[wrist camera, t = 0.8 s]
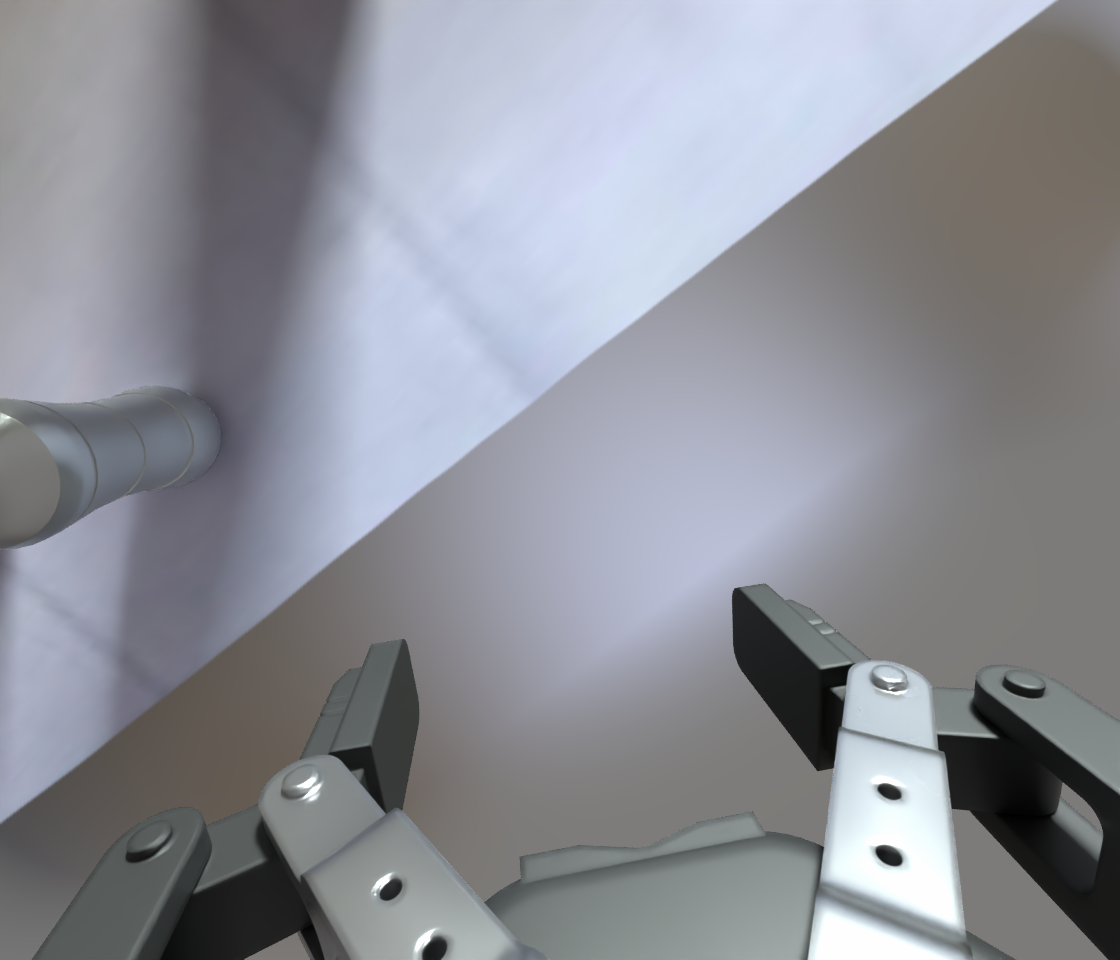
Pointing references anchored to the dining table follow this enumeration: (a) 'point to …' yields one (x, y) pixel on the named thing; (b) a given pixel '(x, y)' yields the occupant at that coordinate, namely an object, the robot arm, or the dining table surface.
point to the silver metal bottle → (96, 455)
